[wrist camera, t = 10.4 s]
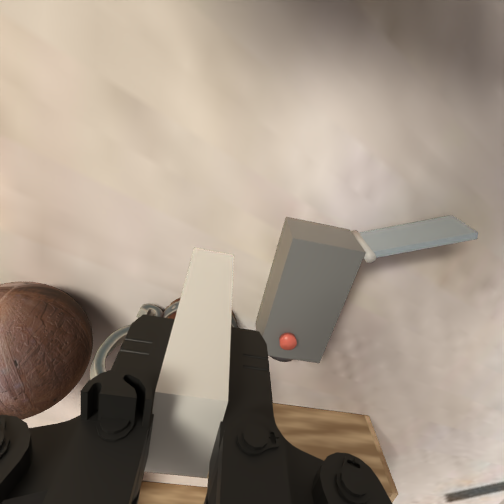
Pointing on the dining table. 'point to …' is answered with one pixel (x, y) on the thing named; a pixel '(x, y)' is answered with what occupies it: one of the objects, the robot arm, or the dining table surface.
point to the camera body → (307, 289)
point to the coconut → (40, 347)
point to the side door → (413, 237)
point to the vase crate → (306, 439)
